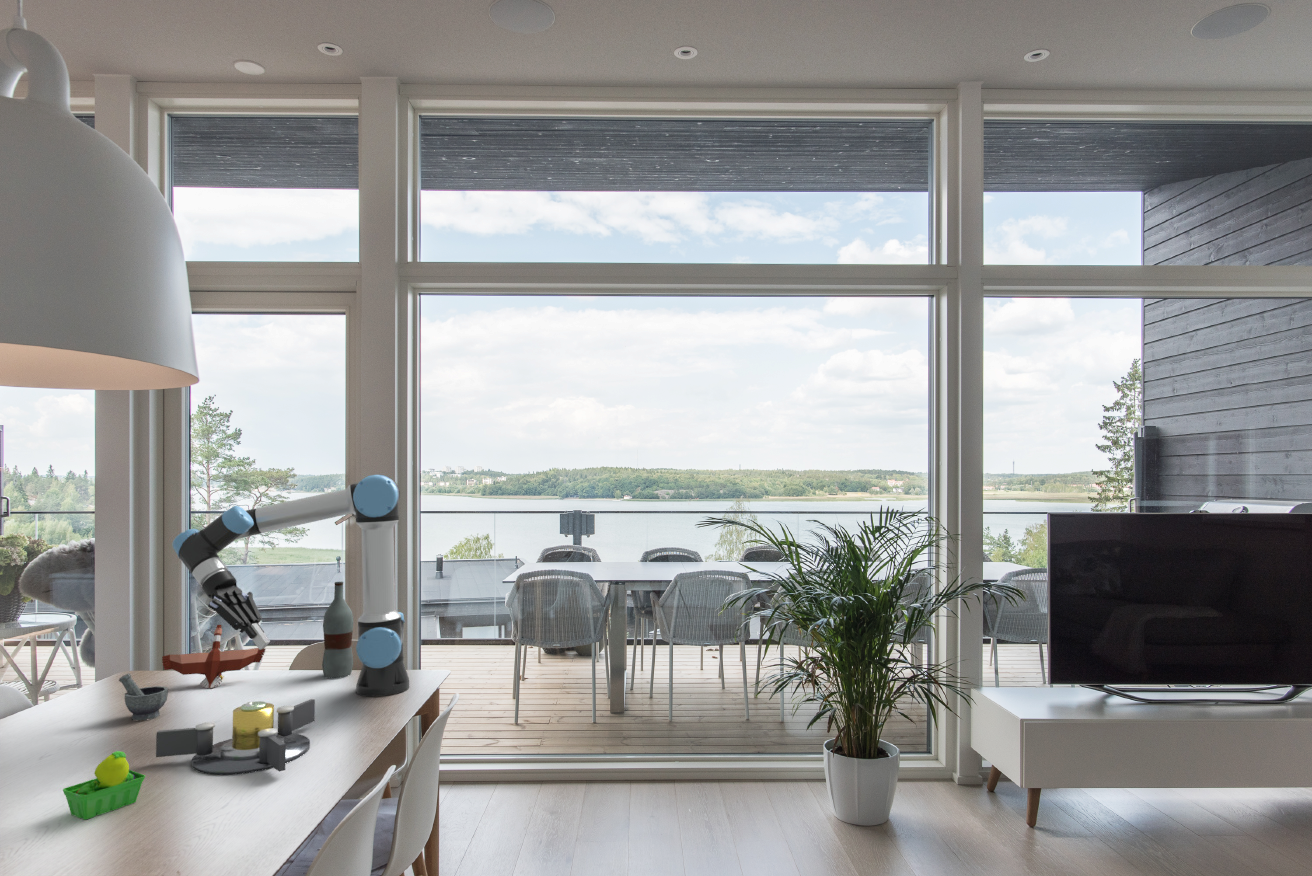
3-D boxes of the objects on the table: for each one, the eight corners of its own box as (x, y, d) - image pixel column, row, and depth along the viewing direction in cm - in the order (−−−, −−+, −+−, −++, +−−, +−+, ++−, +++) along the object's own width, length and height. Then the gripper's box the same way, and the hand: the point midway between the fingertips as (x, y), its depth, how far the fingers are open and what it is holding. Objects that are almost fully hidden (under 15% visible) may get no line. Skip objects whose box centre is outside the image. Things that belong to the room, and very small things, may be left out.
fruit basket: (125, 793, 152) (126, 737, 153) (150, 802, 148) (151, 744, 149) (59, 816, 142) (61, 755, 143) (84, 826, 138) (86, 763, 139)
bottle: (350, 670, 249) (351, 579, 251) (355, 676, 242) (356, 582, 243) (319, 674, 245) (321, 581, 246) (324, 680, 237) (325, 584, 238)
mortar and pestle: (171, 709, 208) (172, 666, 208) (163, 719, 199) (164, 674, 199) (122, 715, 203) (123, 670, 204) (112, 725, 195) (113, 678, 195)
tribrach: (318, 732, 188) (318, 683, 189) (298, 768, 165) (299, 712, 166) (211, 741, 182) (212, 691, 183) (175, 780, 159) (176, 722, 159)
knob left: (255, 760, 166) (255, 731, 167) (273, 755, 169) (273, 727, 169) (272, 774, 158) (273, 744, 159) (291, 769, 161) (292, 739, 161)
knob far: (216, 749, 173) (217, 721, 174) (211, 755, 170) (211, 726, 170) (160, 754, 170) (160, 726, 171) (153, 760, 167) (154, 731, 167)
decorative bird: (270, 659, 250) (268, 620, 246) (262, 694, 234) (260, 654, 229) (171, 667, 241) (168, 627, 236) (156, 704, 224) (151, 662, 220)
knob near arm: (285, 737, 181) (286, 711, 181) (272, 736, 182) (273, 709, 182) (318, 722, 192) (319, 697, 192) (306, 721, 193) (306, 696, 193)
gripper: (226, 585, 207) (275, 649, 202) (185, 591, 194) (236, 661, 189) (243, 566, 206) (292, 630, 200) (202, 572, 193) (254, 641, 188)
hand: (264, 645), depth 195 cm, fingers closed
